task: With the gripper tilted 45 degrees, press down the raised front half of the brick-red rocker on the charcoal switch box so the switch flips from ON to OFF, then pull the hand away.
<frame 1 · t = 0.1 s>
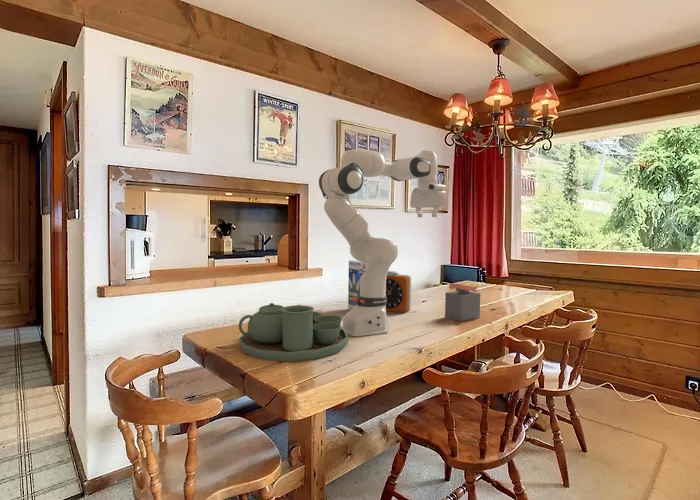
hand: (427, 217, 190), 48 cm above the table, tool pointing down, fingers open, 8 cm apart
string lights box: (361, 311, 211), on the table
alarm clock: (391, 310, 213), on the table
tea set: (294, 345, 154), on the table
rocker: (462, 288, 196), point 14 cm above the table, hinge at 12.0°
switch box: (462, 317, 197), on the table
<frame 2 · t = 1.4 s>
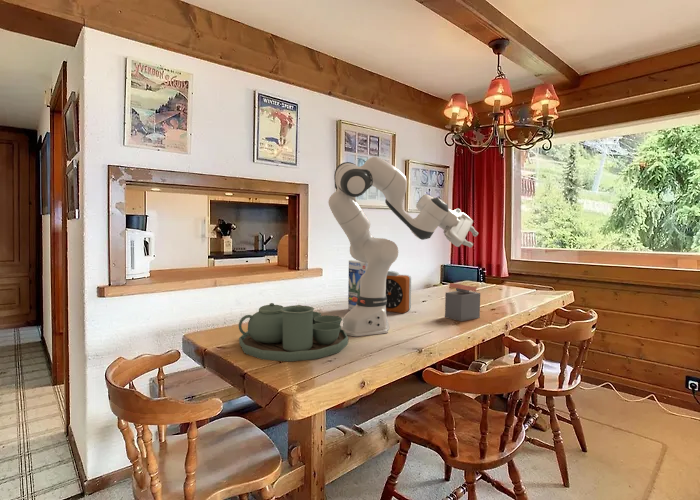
hand: (474, 240, 180), 38 cm above the table, tool tilted 55°, fingers open, 8 cm apart
nothing on the table moved.
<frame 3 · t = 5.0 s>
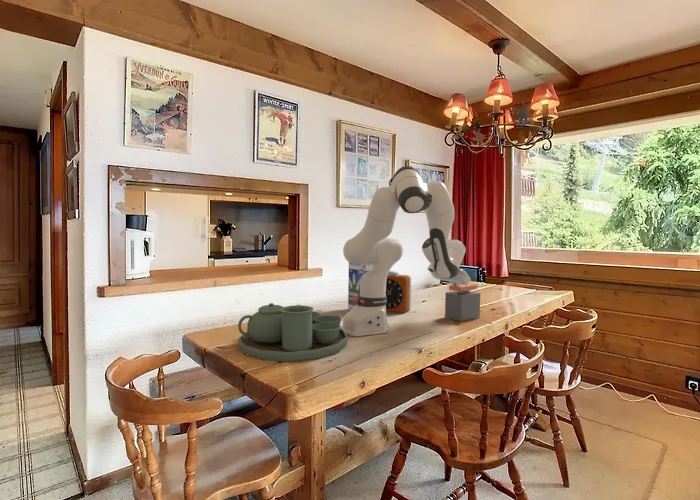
hand: (457, 286, 193), 16 cm above the table, tool tilted 45°, fingers closed, pressing on rocker
rocker: (463, 288, 196), point 14 cm above the table, hinge at -1.4°, touching gripper
everything else where it was.
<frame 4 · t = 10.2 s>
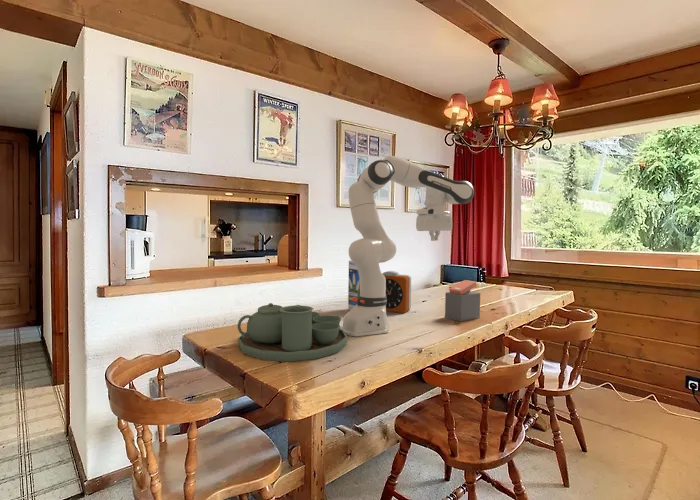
hand: (434, 240, 191), 37 cm above the table, tool pointing down, fingers closed
rocker: (463, 288, 196), point 14 cm above the table, hinge at -18.1°
everything else where it was.
at the end: rocker at -18° (first picture: +12°); the gripper is holding nothing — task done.
